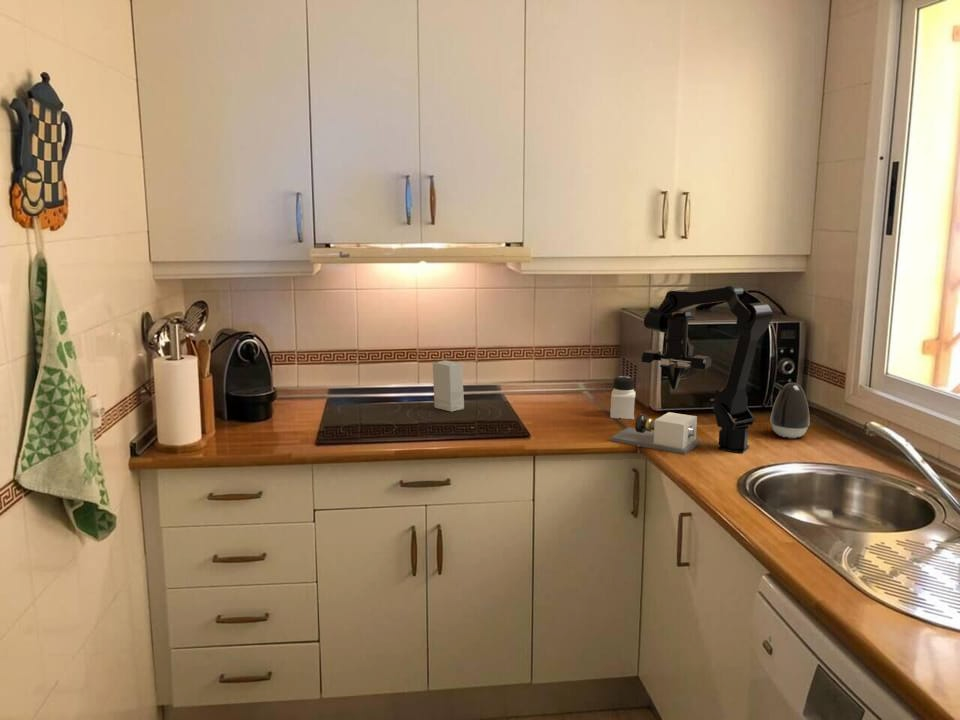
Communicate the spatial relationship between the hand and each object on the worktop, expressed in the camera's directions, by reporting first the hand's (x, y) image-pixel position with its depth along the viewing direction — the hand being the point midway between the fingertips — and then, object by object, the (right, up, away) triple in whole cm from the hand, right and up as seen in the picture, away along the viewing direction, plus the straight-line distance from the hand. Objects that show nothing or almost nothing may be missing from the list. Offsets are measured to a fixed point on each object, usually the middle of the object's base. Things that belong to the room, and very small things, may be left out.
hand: (674, 389), depth 228 cm
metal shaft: (-5, -12, -11) cm, 18 cm away
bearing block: (-7, -14, -9) cm, 18 cm away
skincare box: (-65, -7, +25) cm, 70 cm away
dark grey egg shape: (+31, -13, -3) cm, 34 cm away
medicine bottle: (-12, -9, +17) cm, 23 cm away
